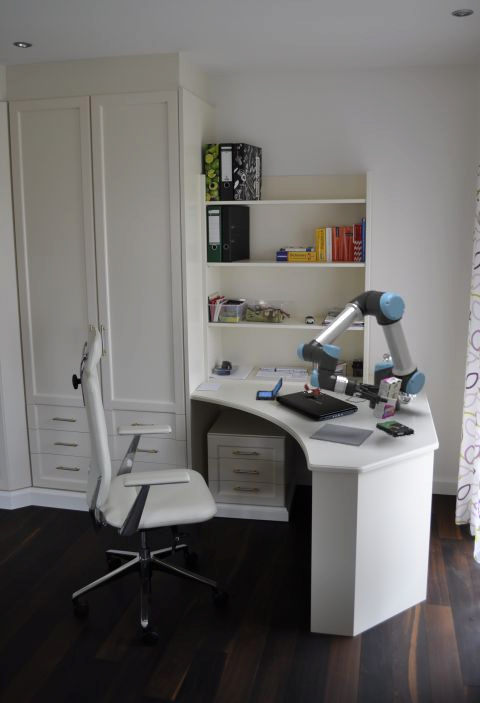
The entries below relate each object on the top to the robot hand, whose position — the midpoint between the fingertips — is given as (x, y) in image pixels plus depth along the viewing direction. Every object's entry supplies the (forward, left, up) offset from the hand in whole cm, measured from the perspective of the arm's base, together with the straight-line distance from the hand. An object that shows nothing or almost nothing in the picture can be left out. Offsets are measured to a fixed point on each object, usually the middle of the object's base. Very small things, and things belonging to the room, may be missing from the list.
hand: (396, 398), depth 285 cm
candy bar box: (+1, -5, -8) cm, 10 cm away
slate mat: (+4, -22, -18) cm, 29 cm away
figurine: (-48, -55, -19) cm, 76 cm away
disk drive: (-13, -3, -19) cm, 23 cm away
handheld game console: (-39, -76, -19) cm, 88 cm away
